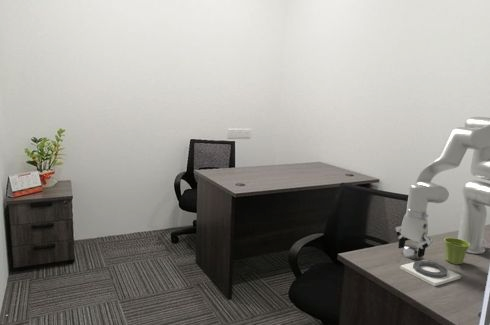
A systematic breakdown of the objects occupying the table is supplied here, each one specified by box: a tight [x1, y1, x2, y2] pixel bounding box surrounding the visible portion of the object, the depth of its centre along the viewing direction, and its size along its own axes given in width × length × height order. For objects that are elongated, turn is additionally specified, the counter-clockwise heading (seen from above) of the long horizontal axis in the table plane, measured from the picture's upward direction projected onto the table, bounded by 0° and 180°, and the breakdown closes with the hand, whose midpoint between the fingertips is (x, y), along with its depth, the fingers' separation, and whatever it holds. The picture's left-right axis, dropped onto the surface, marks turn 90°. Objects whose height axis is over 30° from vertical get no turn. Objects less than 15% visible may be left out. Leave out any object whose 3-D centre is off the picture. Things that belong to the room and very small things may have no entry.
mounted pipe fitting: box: [399, 259, 462, 287], centre depth 141 cm, size 15×15×2 cm
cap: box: [402, 244, 420, 260], centre depth 156 cm, size 6×6×4 cm
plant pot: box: [443, 237, 470, 265], centre depth 152 cm, size 9×9×9 cm
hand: (410, 252), depth 156 cm, fingers open, 9 cm apart
